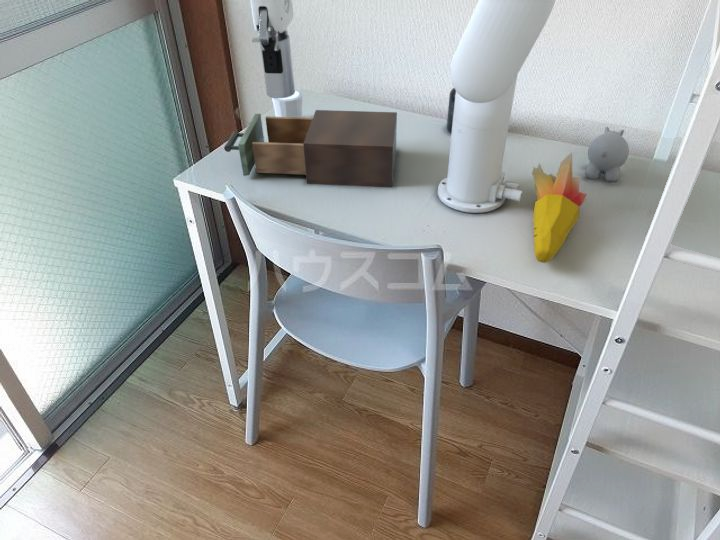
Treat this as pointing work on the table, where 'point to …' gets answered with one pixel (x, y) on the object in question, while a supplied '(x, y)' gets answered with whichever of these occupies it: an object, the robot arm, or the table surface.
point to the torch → (555, 208)
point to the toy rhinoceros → (607, 155)
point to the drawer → (272, 145)
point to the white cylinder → (288, 105)
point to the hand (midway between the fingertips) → (277, 65)
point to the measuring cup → (282, 82)
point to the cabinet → (351, 148)
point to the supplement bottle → (451, 110)
